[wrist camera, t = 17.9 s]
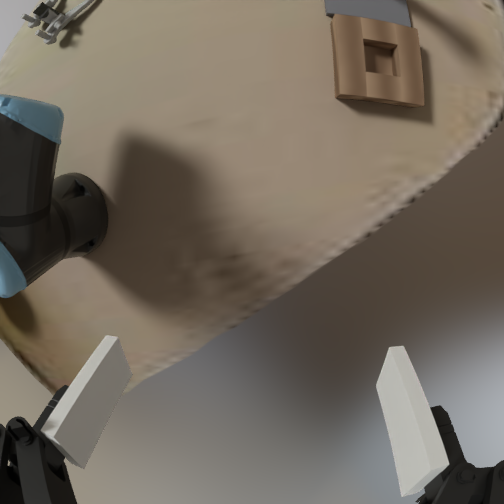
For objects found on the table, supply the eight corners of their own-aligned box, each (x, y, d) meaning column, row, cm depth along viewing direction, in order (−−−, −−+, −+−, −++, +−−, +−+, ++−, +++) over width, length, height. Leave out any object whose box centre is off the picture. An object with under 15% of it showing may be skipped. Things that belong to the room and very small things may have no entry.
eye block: (335, 97, 35) (340, 93, 31) (330, 23, 30) (334, 13, 26) (412, 107, 33) (424, 105, 30) (406, 36, 29) (417, 28, 25)
